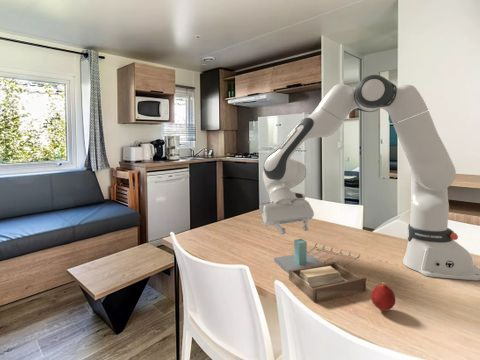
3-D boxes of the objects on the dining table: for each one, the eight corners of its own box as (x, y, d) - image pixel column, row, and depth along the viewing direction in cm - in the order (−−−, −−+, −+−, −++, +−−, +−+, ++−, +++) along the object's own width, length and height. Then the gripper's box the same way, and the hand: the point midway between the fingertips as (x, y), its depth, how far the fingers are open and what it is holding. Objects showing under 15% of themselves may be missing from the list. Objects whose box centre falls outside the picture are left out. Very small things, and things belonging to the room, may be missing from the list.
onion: (380, 302, 84) (381, 275, 83) (399, 312, 79) (401, 284, 78) (365, 308, 81) (366, 280, 80) (385, 319, 76) (386, 290, 75)
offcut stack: (296, 279, 99) (296, 270, 98) (330, 272, 103) (330, 263, 102) (307, 288, 93) (307, 278, 92) (342, 280, 97) (342, 271, 97)
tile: (274, 260, 114) (274, 257, 114) (306, 255, 118) (306, 252, 118) (292, 276, 101) (292, 273, 101) (328, 269, 105) (328, 266, 105)
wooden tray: (288, 279, 99) (288, 267, 99) (334, 270, 105) (334, 259, 104) (314, 302, 85) (314, 289, 84) (365, 290, 90) (366, 278, 90)
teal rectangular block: (294, 260, 110) (294, 239, 109) (301, 259, 111) (301, 238, 110) (299, 264, 107) (299, 242, 106) (306, 263, 108) (306, 241, 107)
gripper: (260, 198, 113) (271, 231, 105) (307, 193, 120) (322, 224, 112) (256, 207, 118) (266, 239, 110) (302, 202, 125) (315, 232, 117)
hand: (294, 231), depth 111 cm, fingers open, 8 cm apart
